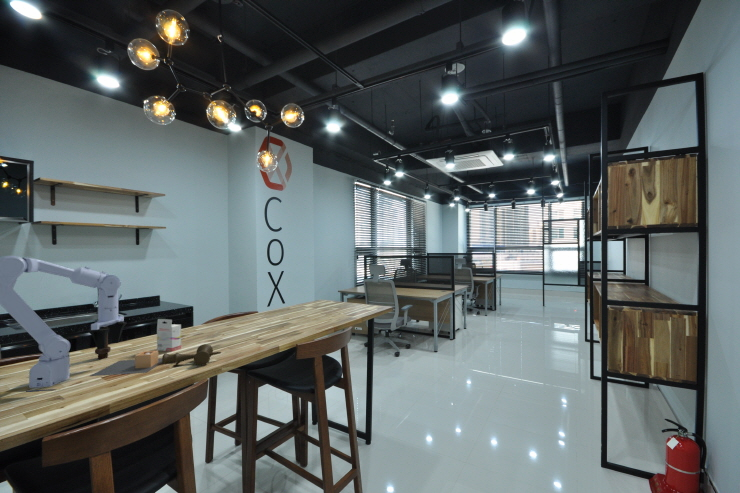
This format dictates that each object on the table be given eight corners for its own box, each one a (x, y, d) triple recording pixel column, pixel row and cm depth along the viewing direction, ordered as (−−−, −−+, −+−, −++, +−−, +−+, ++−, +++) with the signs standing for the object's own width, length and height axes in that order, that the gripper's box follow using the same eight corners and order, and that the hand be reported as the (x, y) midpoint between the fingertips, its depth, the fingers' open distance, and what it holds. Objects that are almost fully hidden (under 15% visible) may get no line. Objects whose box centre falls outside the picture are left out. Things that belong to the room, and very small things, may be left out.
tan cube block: (150, 367, 117) (150, 354, 117) (135, 368, 116) (135, 355, 116) (158, 362, 122) (158, 350, 122) (143, 363, 121) (143, 351, 121)
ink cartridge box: (182, 351, 141) (181, 317, 141) (172, 355, 136) (171, 319, 136) (166, 350, 143) (166, 316, 143) (156, 353, 138) (156, 319, 139)
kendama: (166, 364, 126) (222, 356, 133) (159, 373, 117) (220, 364, 124) (165, 348, 126) (221, 341, 133) (159, 356, 117) (219, 348, 124)
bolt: (115, 359, 131) (115, 322, 131) (103, 363, 126) (103, 325, 126) (102, 359, 132) (102, 322, 132) (90, 363, 127) (90, 325, 127)
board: (147, 376, 111) (147, 359, 112) (89, 380, 109) (89, 362, 109) (169, 361, 127) (169, 346, 127) (119, 364, 125) (119, 348, 125)
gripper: (107, 310, 111) (107, 350, 111) (132, 304, 125) (132, 339, 125) (84, 311, 110) (84, 352, 110) (112, 305, 125) (112, 340, 124)
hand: (108, 345), depth 117 cm, fingers open, 7 cm apart
